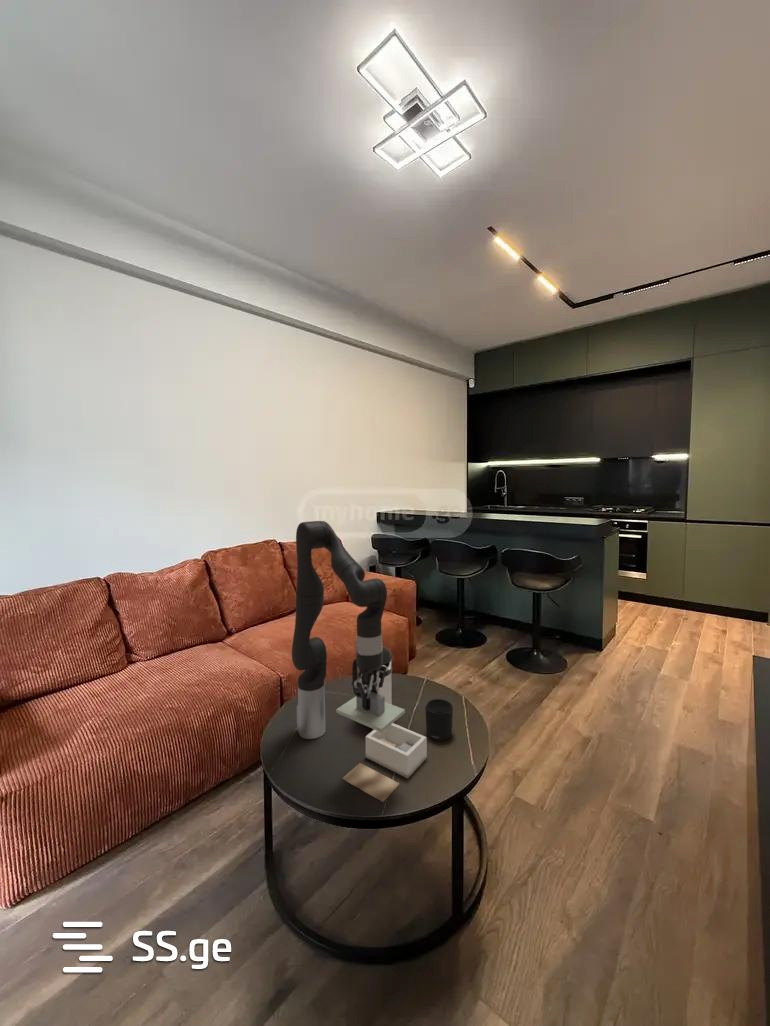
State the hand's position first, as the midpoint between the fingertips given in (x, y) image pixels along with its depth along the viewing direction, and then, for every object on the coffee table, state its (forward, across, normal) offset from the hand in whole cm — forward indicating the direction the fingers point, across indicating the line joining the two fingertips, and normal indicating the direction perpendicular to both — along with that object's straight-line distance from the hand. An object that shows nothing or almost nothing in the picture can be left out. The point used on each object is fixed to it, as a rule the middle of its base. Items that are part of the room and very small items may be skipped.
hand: (370, 706), depth 118 cm
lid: (+3, 0, 0) cm, 3 cm away
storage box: (+23, -13, 0) cm, 26 cm away
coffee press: (+23, -25, -19) cm, 39 cm away
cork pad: (+23, 0, 0) cm, 23 cm away
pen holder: (+23, -32, +5) cm, 40 cm away
